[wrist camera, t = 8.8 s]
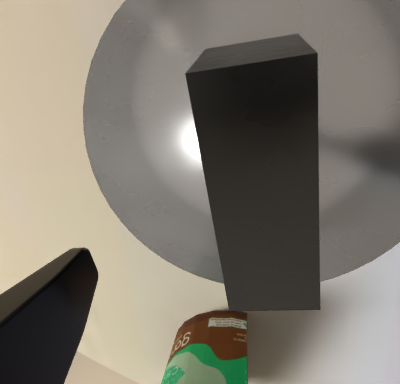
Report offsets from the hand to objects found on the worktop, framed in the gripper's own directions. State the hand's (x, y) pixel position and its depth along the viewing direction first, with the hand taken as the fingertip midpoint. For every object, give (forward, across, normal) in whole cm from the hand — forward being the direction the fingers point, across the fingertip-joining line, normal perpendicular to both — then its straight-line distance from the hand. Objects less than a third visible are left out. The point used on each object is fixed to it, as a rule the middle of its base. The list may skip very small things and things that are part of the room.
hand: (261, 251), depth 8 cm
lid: (+7, 0, 0) cm, 7 cm away
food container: (+13, +7, +20) cm, 25 cm away
